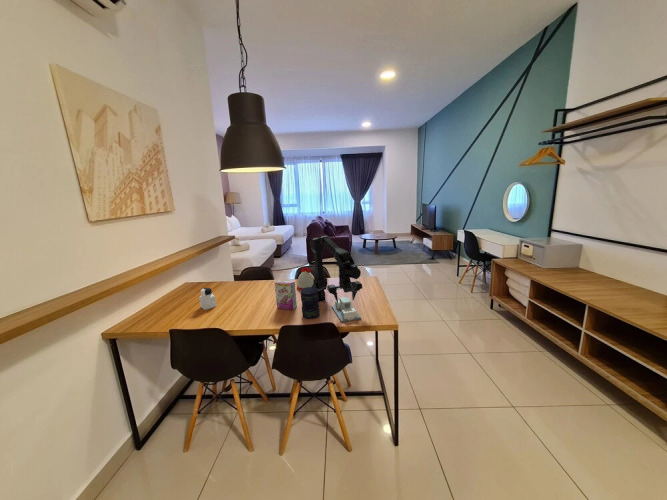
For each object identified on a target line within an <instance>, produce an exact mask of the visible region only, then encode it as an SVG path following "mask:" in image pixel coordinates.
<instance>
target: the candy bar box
mask: <svg viewBox="0 0 667 500" xmlns="http://www.w3.org/2000/svg"><path fill="white" fill-rule="evenodd" d="M274 288H275V289H274V291H275V299H276V300H275V301H276V308H277V309H283V310H291V311H293V310H295V309H296V308H297V307H298V306H297V293H296V290H297V289H296V281H290V280H281V279H278V280H277V281H275V282H274Z"/></svg>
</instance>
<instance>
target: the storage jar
mask: <svg viewBox="0 0 667 500" xmlns="http://www.w3.org/2000/svg"><path fill="white" fill-rule="evenodd" d="M318 299H319V294H318V289H317V288H315V287H306V288H303V289H301V290H300V300H301V314H302V318H303V319H306V320H314V319H317V318H319V317H320V315H321V313H320V311H321V310H320V305H319V302H320V301H318Z"/></svg>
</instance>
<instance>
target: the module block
mask: <svg viewBox="0 0 667 500" xmlns="http://www.w3.org/2000/svg"><path fill="white" fill-rule="evenodd" d="M339 300H340V310H341V311H342V310H345V309H351V306H352V301H351V299H350V298H349V297H348V296H343V297H339Z"/></svg>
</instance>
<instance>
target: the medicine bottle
mask: <svg viewBox="0 0 667 500" xmlns="http://www.w3.org/2000/svg"><path fill="white" fill-rule="evenodd" d="M200 294H201V295H200V296H199V297H198V299H199V303H200V304H199V305H200V308H201V309H203V311H207V310H211V309H213V308H215V307H217V301H216V296H215V295H214V294H213V291H212V288H211V287H204V288H202V289H201V290H200Z"/></svg>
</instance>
